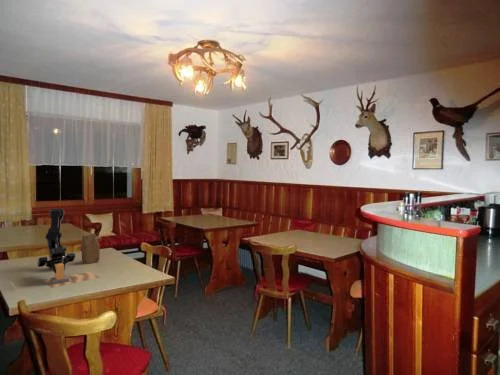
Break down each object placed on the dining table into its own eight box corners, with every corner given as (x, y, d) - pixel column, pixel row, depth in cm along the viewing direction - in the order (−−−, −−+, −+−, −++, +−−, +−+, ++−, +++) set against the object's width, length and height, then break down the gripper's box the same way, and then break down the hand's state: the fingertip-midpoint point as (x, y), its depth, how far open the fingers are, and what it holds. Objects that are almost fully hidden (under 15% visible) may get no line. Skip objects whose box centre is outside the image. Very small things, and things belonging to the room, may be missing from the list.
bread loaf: (84, 264, 240) (83, 235, 239) (81, 262, 246) (80, 233, 245) (100, 262, 247) (100, 233, 246) (97, 259, 253) (96, 232, 252)
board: (51, 289, 193) (51, 287, 193) (43, 282, 204) (43, 280, 204) (99, 279, 211) (99, 277, 211) (89, 273, 222) (89, 271, 222)
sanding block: (53, 284, 198) (52, 267, 197) (50, 281, 203) (49, 264, 202) (68, 281, 203) (68, 264, 202) (65, 278, 208) (64, 261, 207)
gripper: (38, 243, 198) (43, 267, 191) (74, 239, 211) (80, 261, 203) (35, 254, 204) (40, 278, 197) (70, 249, 217) (76, 271, 209)
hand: (59, 272), depth 201 cm, fingers closed on sanding block, 4 cm apart
